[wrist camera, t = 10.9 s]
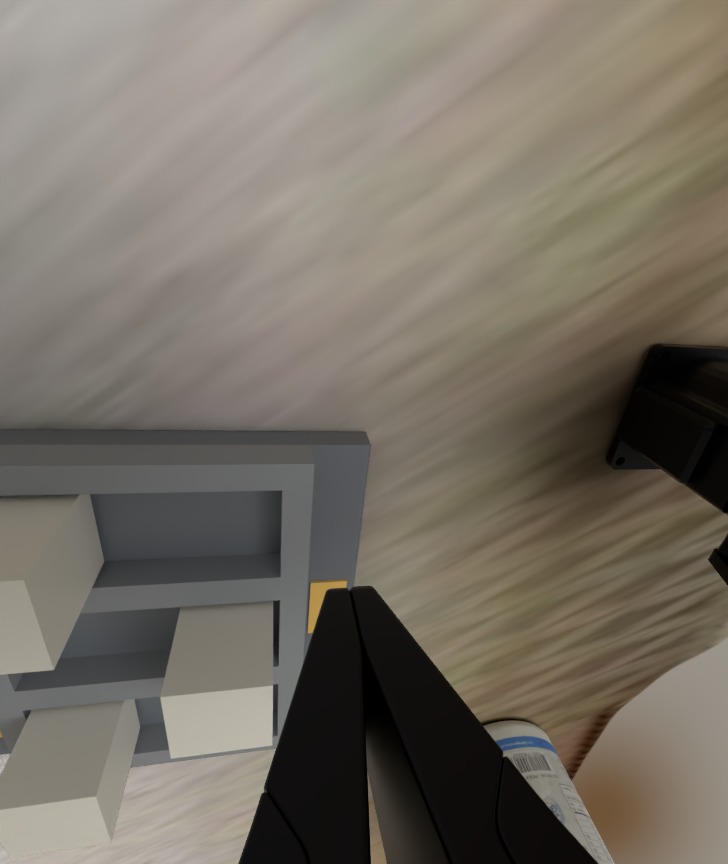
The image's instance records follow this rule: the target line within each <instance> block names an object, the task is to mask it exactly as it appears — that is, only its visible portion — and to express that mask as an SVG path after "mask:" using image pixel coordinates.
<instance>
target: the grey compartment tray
mask: <svg viewBox="0 0 728 864" xmlns="http://www.w3.org/2000/svg"><path fill="white" fill-rule="evenodd" d="M370 447H371V445H370V442H369V439H368V437H367V434H366V432H295V431H159V430H23V429H0V496H13V495H66V494H90V497H91V502H92V507H93V511H94V516H95V520H96V525H97V530H98V534H99V539H100V543H101V548H102V553H103V557H104V563H103V565H102V567H101V569H100V572H99V574H98V576H97V578H96V580H95V582H94V585H93V587H92V589H91V591H90V593H89V595H88V597H87V600H86V602H85V604H84V606H83V608H82V610H81V613H80V615H79V617H78V619H77V621H76V623H75V625H74V628H73V630H72V632H71V634H70V636H69V638H68V641H67V643H66V645H65V647H64V649H63V651H62V654H61V656H60V658H59V660H58V662H57V664H56V666H55V669H54V670H49V671H37V672H26V673H15V674H4V675H0V754H9V753H12V751H13V748H14V746H15V744H16V742H17V740H18V738H19V736H20V734H21V731H22V729H23V727H24V725H25V723H26V721H27V719H28V717H29V714H30V712H31V710H34V709H44V708H53V707H63V706H72V705H82V704H92V703H101V702H111V701H121V700H130V699H134V700H135V705H136V709H137V714H138V719H139V723H140V730H139V734H138V738H137V742H136V746H135V750H134V754H133V758H132V762H131V766H130V768H131V767H139V766H146V765H154V764H161V763H169V762H177V761H184V760H192V759H199V758H207V757H214V756H222V755H230V754H237V753H245V752H252V751H260V750H268V749H275V748H277V745H278V742H279V738H280V735H281V732H282V729H283V726H284V723H285V719H286V716H287V713H288V710H289V707H290V704H291V700H292V697H293V694H294V691H295V688H296V684H297V681H298V678H299V675H300V672H301V669H302V665H303V662H304V659H305V656H306V653H307V650H308V646H309V643H310V640H311V637H312V634H313V631H314V627H315V624H316V621H317V618H318V615H319V612H320V608H321V605H322V602H323V599H324V596H325V593H326V591H327V590H328V589H332V588H348V589H349V591H350V589H351V588H352V587H354V579H355V571H356V562H357V554H358V546H359V538H360V529H361V521H362V513H363V504H364V496H365V488H366V480H367V471H368V463H369V455H370ZM262 601H273V734H272V746H265V747H257V748H250V749H242V750H234V751H227V752H219V753H211V754H204V755H196V756H188V757H181V758H173V759H171V757H170V751H169V745H168V739H167V734H166V728H165V722H164V716H163V711H162V705H161V699H160V696H161V692H162V687H163V683H164V678H165V674H166V670H167V665H168V661H169V656H170V652H171V648H172V643H173V639H174V634H175V630H176V626H177V621H178V617H179V612H180V608H181V607H188V606H203V605H218V604H232V603H247V602H262Z"/></svg>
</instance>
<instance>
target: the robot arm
mask: <svg viewBox="0 0 728 864" xmlns="http://www.w3.org/2000/svg"><path fill="white" fill-rule="evenodd" d="M661 354H662V356H661V357H660V358H659V356H660V355H661ZM618 458H619V459H618ZM617 459H618V460H617ZM606 462H607V464H609V465H610V466H611V467H612V468H613V469H661V470H663V471H664V472H666V473H667V474H668V475H670V476H671V477H673V478H674V479H675V480H677V481H678V482H680V483H682V484H684V485H685V486H687V487H688V488H690V489H691V490H692V491H694V492H695V493H697V494H698V495H699V496H701V497H702V498H704V499H705V500H706V501H708V502H709V503H711V504H712V505H713V506H715V507H716V508H718V509H719V510H721V511H722V512H723V513H726V514H727V515H728V347H713V346H694V345H676V344H657V345H656V346H654V347H653V348H652V349H651V350H650V351H649V353H648V355H647V358H646V360H645V363H644V365H643V368H642V370H641V373H640V375H639V378H638V380H637V383H636V385H635V388H634V390H633V393H632V395H631V398H630V400H629V403H628V405H627V408H626V410H625V413H624V415H623V418H622V420H621V423H620V425H619V428H618V430H617V433H616V435H615V438H614V440H613V443H612V445H611V448H610V450H609V453H608V455H607V459H606ZM708 560H709V562H710V563H711V564H712V565H713V567H714V568H715V569H716V571H717V572H718V573H719V575H720V576H721V577H722V578H723V580H724V581H725V582H726V584H727V585H728V534H727V536H726V537H725V539H724V540H723V542H722V543H721V545H720V546H719V548H716V549H714V551H713V552H712V554H711V555H710V557H709V559H708ZM367 771H368V776H369V780H370V785H371V790H372V795H373V799H374V804H375V809H376V814H377V818H378V823H379V828H380V832H381V837H382V842H383V847H384V851H385V856H386V861H387V864H599V863H598V862H597V861H596V860H595V859H594V858H593V857H592V856H591V855H590V853H589V852H588V851H587V850H586V849H585V848H584V847H583V846H582V845H581V844H580V842H579V841H578V840H577V839H576V838H575V837H574V836H573V835H572V834H571V833H570V831H569V830H568V829H567V828H566V827H565V826H564V825H563V824H562V823H561V821H560V820H559V819H558V818H557V817H556V816H555V815H554V813H553V812H552V811H551V810H550V808H549V807H548V806H547V805H546V804H545V802H544V801H543V800H542V799H541V798H540V796H539V795H538V794H537V793H536V792H535V790H534V789H533V788H532V787H531V786H530V784H529V783H528V782H527V781H526V779H525V778H524V777H523V776H522V774H521V773H520V772H519V771H518V769H517V768H516V767H515V765H514V764H513V763H512V762H511V760H510V759H509V758H508V757H507V756H504V757H503V751H502V749H501V748H500V747H499V745H498V744H497V743H496V742H495V740H494V739H493V738H492V737H491V735H490V734H489V733H488V732H487V730H486V729H485V728H484V727H483V725H482V724H481V723H480V721H479V720H478V719H477V718H476V716H475V715H474V714H473V713H472V711H471V710H470V709H469V708H468V706H467V705H466V704H465V703H464V701H463V700H462V699H461V697H460V696H459V695H458V694H457V692H456V691H455V690H454V689H453V687H452V686H451V685H450V684H449V682H448V681H447V680H446V679H445V677H444V676H443V675H442V673H441V672H440V671H439V670H438V668H437V667H436V666H435V665H434V663H433V662H432V661H431V660H430V658H429V657H428V656H427V654H426V653H425V652H424V651H423V649H422V648H421V647H420V646H419V644H418V643H417V642H416V641H415V639H414V638H413V637H412V636H411V634H410V633H409V632H408V630H407V629H406V628H405V627H404V625H403V624H402V623H401V622H400V620H399V619H398V618H397V617H396V615H395V614H394V613H393V611H392V610H391V609H390V608H389V606H388V605H387V604H386V603H385V601H384V600H383V599H382V598H381V596H380V595H379V594H378V593H377V591H376V590H375V589H374V588H373V587H372V586H358V587H352V588H351V589H350V591H349V589H348V588H332V589H328V590H327V591H326V593H325V596H324V599H323V602H322V605H321V608H320V612H319V615H318V618H317V621H316V624H315V627H314V631H313V634H312V637H311V640H310V643H309V646H308V650H307V653H306V656H305V659H304V662H303V665H302V669H301V672H300V675H299V678H298V681H297V684H296V688H295V691H294V694H293V697H292V700H291V704H290V707H289V710H288V713H287V716H286V719H285V723H284V726H283V729H282V732H281V735H280V738H279V742H278V745H277V748H276V751H275V754H274V757H273V761H272V764H271V767H270V770H269V773H268V776H267V780H266V783H265V786H264V793H262V795H261V797H260V801H259V804H258V807H257V810H256V813H255V816H254V820H253V823H252V826H251V829H250V832H249V835H248V837H247V840H246V843H245V846H244V849H243V852H242V855H241V858H240V861H239V864H371V855H370V830H369V804H368V779H367Z"/></svg>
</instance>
